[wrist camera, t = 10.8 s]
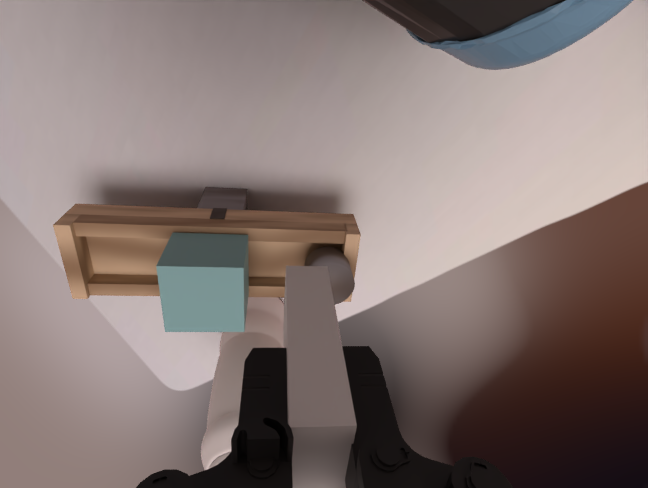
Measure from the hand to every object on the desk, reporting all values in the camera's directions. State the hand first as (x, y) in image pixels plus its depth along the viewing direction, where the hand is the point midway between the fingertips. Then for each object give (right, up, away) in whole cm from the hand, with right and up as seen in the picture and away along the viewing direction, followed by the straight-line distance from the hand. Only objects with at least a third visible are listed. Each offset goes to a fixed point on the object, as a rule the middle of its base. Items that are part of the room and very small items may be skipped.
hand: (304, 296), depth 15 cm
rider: (-9, +1, +21) cm, 23 cm away
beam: (-9, +4, +27) cm, 29 cm away
